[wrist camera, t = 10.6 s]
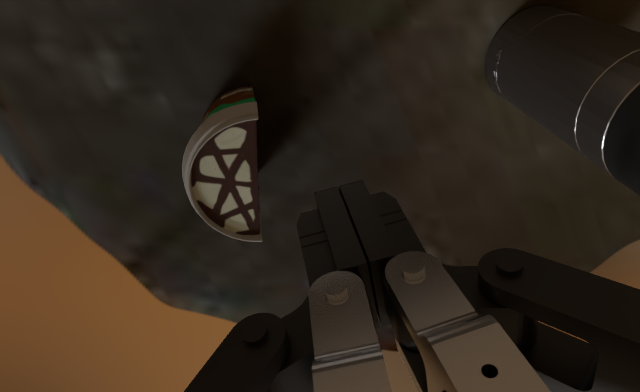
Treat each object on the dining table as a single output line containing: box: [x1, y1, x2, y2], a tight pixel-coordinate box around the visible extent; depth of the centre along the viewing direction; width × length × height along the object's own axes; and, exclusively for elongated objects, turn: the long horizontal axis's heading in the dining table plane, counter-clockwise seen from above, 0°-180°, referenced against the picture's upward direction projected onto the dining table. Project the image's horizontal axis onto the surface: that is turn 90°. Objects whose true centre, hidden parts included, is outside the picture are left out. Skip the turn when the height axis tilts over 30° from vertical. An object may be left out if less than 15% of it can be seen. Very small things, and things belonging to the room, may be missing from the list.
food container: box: [182, 86, 262, 242], centre depth 41 cm, size 12×6×10 cm, turn 177°
